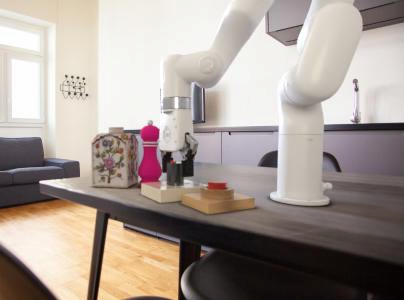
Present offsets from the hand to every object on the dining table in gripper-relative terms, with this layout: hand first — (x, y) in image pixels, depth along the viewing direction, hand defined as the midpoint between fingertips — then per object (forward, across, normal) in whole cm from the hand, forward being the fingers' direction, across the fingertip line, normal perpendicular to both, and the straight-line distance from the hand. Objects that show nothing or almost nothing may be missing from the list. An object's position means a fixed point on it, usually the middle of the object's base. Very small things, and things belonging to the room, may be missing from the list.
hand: (177, 174), depth 74 cm
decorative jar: (+5, -23, -8) cm, 25 cm away
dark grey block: (+2, 0, 0) cm, 3 cm away
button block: (+6, +13, +2) cm, 14 cm away
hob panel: (+6, 0, 0) cm, 6 cm away
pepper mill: (+6, -15, 0) cm, 16 cm away
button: (+2, +13, +3) cm, 13 cm away
